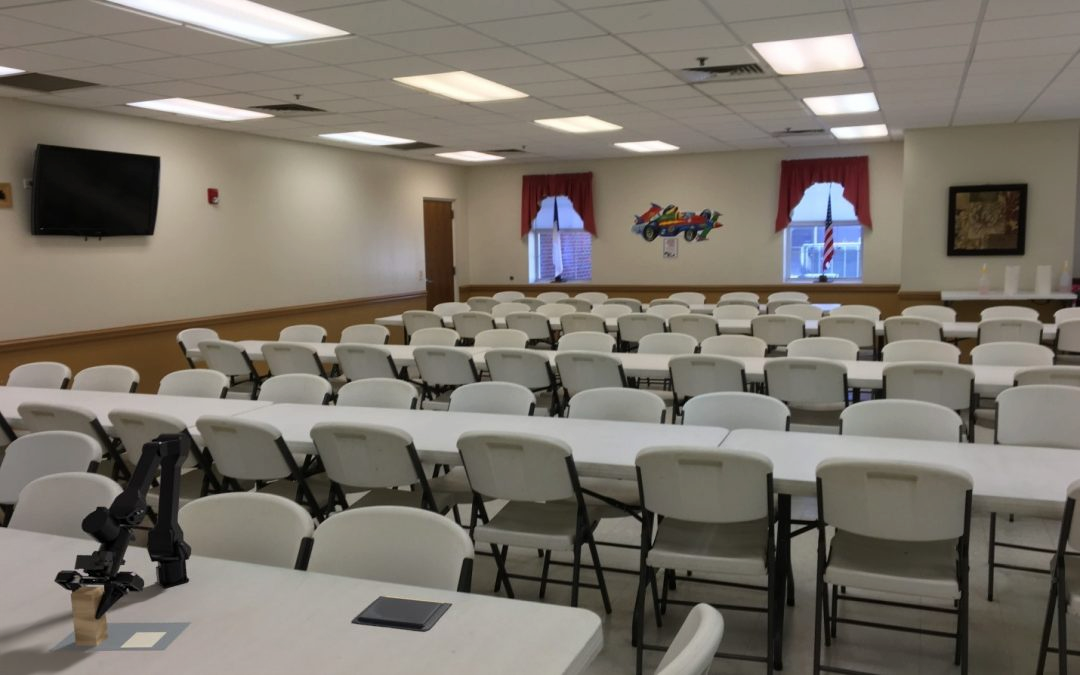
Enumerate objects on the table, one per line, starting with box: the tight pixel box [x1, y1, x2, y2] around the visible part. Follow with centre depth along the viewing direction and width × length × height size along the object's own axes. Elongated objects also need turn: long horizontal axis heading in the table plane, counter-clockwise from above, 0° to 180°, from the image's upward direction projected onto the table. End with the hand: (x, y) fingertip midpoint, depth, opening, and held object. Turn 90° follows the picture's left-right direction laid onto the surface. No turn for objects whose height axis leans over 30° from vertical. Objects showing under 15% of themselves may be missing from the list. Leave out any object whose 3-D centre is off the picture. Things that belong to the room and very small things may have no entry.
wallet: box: [350, 595, 453, 633], centre depth 198 cm, size 20×2×15 cm
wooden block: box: [70, 585, 108, 646], centre depth 186 cm, size 4×5×12 cm
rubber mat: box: [48, 621, 192, 652], centre depth 189 cm, size 26×13×1 cm, turn 87°
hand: (85, 618), depth 185 cm, fingers closed on wooden block, 5 cm apart
